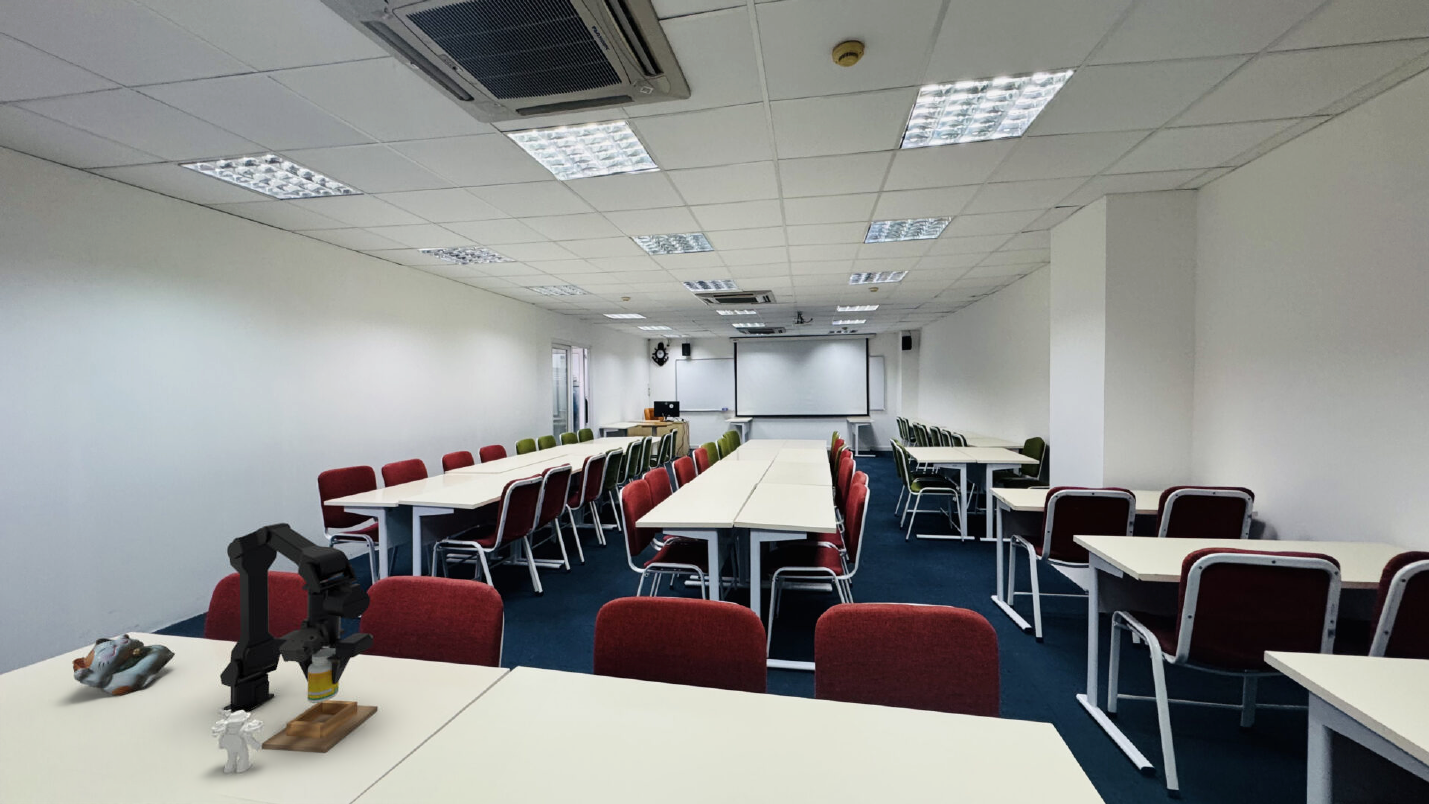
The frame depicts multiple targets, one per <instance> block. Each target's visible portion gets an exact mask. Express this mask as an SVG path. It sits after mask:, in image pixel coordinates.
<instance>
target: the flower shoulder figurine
mask: <svg viewBox="0 0 1429 804" xmlns="http://www.w3.org/2000/svg"><path fill="white" fill-rule="evenodd" d="M217 712H218V714H220V716H223V715H225V717H222V719H221V720H219V721H216V722H215V725H214V726H212V727H211V729H210V730H211V735H212V737H213V738H217V737H218V736H219V735H220V736H219V738H218V749H219V750H225V751H227V761H226V763H225V767H224V770H223V772H224V773H225V774H229V773H232V772H234V771H236V773H243V772H245V771H247V770H249V769H250V768H251V767H252V766H253V761H252V760H250V759H249V758H250V755H249V747H248V745H249V746H250V747H251V748H252V749H254V750H255V751H256V752H258V750H260V749H262V743H263V742H262V741H259V740H257V739H256V738H255V737H254V736H253V733H256V734H261V733H263V731H264V727H265V725H264V724H265V722H264V721H261V720H258V719H259V717H257V719H253V720H252V721H250V716H251V715H252V713H251V712H245V711H244V710H240V711H233V713H232V711H231V710H227V711H226V710H223V708H221V709H218V710H217ZM228 716H229V717H228ZM226 717H228V718H227V719H226ZM220 733H221V734H220ZM238 758H239V759H238Z"/></svg>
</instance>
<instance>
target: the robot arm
mask: <svg viewBox="0 0 1429 804" xmlns="http://www.w3.org/2000/svg"><path fill="white" fill-rule="evenodd" d="M226 552H227V557H228V559H229V565H230V566H231V567H232V568H233V569H234V570H235V571H236V572H237V573H238V574H239V602H240V603H239V605H240V609H239V611H240V614H239V615H240V617H239V618H240V637H239V638H238V640H237V642H236V644H235V645H234V647H233V648H232V650H231V651H230V652H231V653H230V662H228V664H227V665H226V667H225V668H224V670H223V671H222V672H221V673H220V675H219V677H220V683H221V685H223V686H225V687H229V688H230V703H229V704H228V705H225V706H224V707H223V708H222V710H226V711H227V710H231V711H230V712H236V711H240V710H244V711H245V712H246V713H249V712H251V711H252V710H254V709H256V708H257V707H259V706H260V705H262V704H264V703H266V702H267V701H268V700H270V699H272V698H274V697H275V693H270V681H269V673H272V672H274V671H277V669H278V666H279V662H280V658H281V657H282V661H283V662H285V663H288V662H295V663H298V665H299V667H300V669H301V672H302V673H303V675H304V677H305V679H306V682H307V683H308V668H309V666H310V665H311V664H312V663H313V662H312V655H313V654H316V653H317V652H318V651H320V650H322V649H328V648H333V649H335V654H333V655H332V656H330V657H328V658H327V660H329V661H330V662H331V663H332V683H333V684H336V683H338V681H340V679H341V677H342V675H343V673H344V671H345V669H346V668H347V665H348V664H349V662H350V660H351V659H353V658H355V657H356V656H358V655H360V654H362V653H363V652H364V651H366V650H369V648H371V647H373V646H374V636H373V635H372V634H370V633H364V632H361V633H360V632H355V633H353V634H351V635H349V636H348V637H345V638H340V637H342V636H343V635H345V634H346V629H345V628H341V619H342V618H343V619H349V620H354V619H358V618H359V617H361V616H362V615H364V613H365V612H367V610H368V608H369V606H370V603H371V596H370V595H369V593H368V592H367V591H366V590H363V589H362V588H361V587H362V585H361V584H359V583H354V582H357V580H358V578H357V576H356V574H357V571H356V570H355V569H354V567H353V566H352V564H351V562H350V560H349V558H348V556H347V555H346V554H345V552H344V551H343V550H341V549H338V548H336V547H332V546H321V545H317V544H316V543H314V542H312V540H310V539H308V538H306V536H304V535H302V534H301V533H298V532H297V531H295V530H294V529H292V528H291V525H290V524H289V523H287V522H285V523H284V522H280V523H274V524H270V525H265V526H262V527H260V528H258V529H256V530H255V531H253V532H250V533H247V534H246V535H243V536H240V537H239V536H238V537H235V538H233V540H232V542H230V543H229V544H228V546H227V549H226ZM278 553H279V554H280V555H282V556H283V557H285V558H286V559H289V560H290V561H291V562H293V563H294V564H295V565H296V566H298V569H297V574H298V575H299V576H300V577H301V578H302V579H303V581H304V582H305V584H303V586H302V587H301V588H302V590H305V591H307V617H306V618H305V619H303V620H301V623H300V628H299V629H295V630H292V631H290V632H288V633H286V634H285V635H283V636H280V637H275V636H274V635H273V634H272V633H271V632H270V624H269V621H270V620H269V619H270V617H269V614H270V613H269V612H270V611H269V609H270V608H269V570H270V568H271V566H272V565H273V564H274V562H275V561H276V559H277V556H278ZM342 575H343V576H342Z"/></svg>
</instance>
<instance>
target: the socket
mask: <svg viewBox="0 0 1429 804" xmlns="http://www.w3.org/2000/svg"><path fill="white" fill-rule="evenodd" d="M378 711H379V710H378V706H374V705H359V704H358V701H349V700H333V699H329V700H326V701H324V702H320V703H314V705H312V706H311V707H308V709H306V710H305V711H303V712H302V713H300V714H298V715H297V716H296V717H294V718H293V719H292V720H290V721H288V722H287V723H286V726H285V727H284V728H282V729H281V730H280V731H278V732H277V733H275V734H273V735H272V736H271V737H269V738H268V739H266V740H265V741H263V742H262V746H261V749H262V750H277V751H294V752H308V753H309V752H310V753H321V754H322V753H323V754H326V753H327V752H328V751H330V750H331V749H332V748H333V747H334V746H335V745H337V744H338V743H339V742H341V741H342V740H343V739H345V738H346V737H347V736H348V735H349V734H351V733H352V732H353V731H354V730H356V729H357V728H358V727H359V726H361V725H362V724H363V723H364V722H366V721H367V720H368V719H369V718H370V717H372V716H373V715H374V714H375V713H377V712H378Z"/></svg>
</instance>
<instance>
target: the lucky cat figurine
mask: <svg viewBox="0 0 1429 804" xmlns="http://www.w3.org/2000/svg"><path fill="white" fill-rule="evenodd" d="M175 654H176V653H175V652H173V650H170V648H168V647H167V646H165V645H162V644H151V645H150V644H149V645H145V644H144V642H143V641H140V640H139V639H137V638H131V637H130V635H129V634H127V633H122V634H120V635H119V636H118V637H117V638H115V639H110V638H105V637H104V638H103V637H100V638H98V639H97V640H95V644H94V645H93V647H92V649H91V650H90V651H89V652H88V654H87V656H86V657H85V656H83V657H77V658H75V659H74V660H73V661H72V663H71V664H72V670H73V678H74V680H75V681H77V682H79V683H80V684H81V685H82V684H83V685H86V686H89V687H92V688H96V689H100V690H102V691H105V692H108V693H109V694H110V695H112V696H119V697H120V696H124V695H128V694H131V693H135V692H138V691H140V689H142V688H144V687H146V685H148V684H149V683H151V682H152V681H153V680H154V679H155V677H156V676H157V674H159V672H160V671H161V670H162V669H164V667H165V666H167V664H168V663H169V662H170V661H171V660H172V659H173V658H174V657H175Z"/></svg>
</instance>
